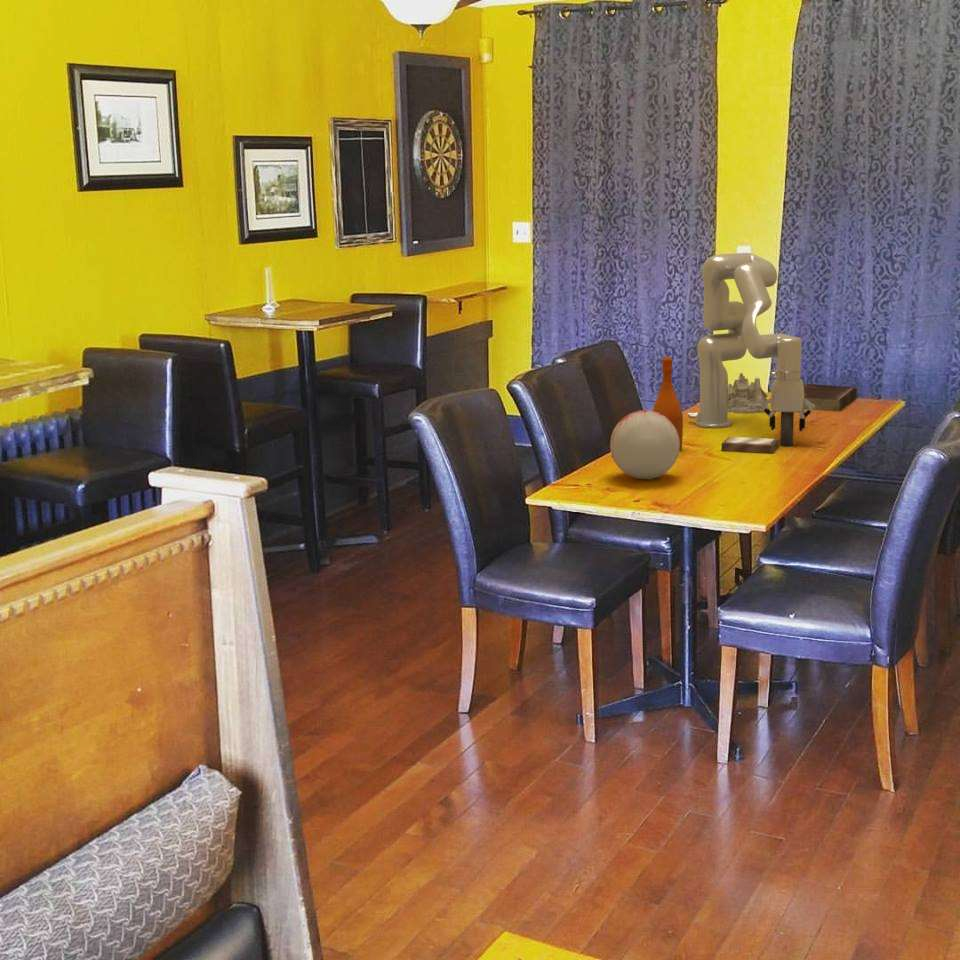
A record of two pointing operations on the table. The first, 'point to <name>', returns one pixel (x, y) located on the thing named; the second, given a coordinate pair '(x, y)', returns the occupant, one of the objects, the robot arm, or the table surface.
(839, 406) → the hardback book
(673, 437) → the decorative orb
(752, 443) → the picture frame
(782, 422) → the marker
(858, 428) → the table surface
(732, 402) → the miniature castle
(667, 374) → the wine bottle
